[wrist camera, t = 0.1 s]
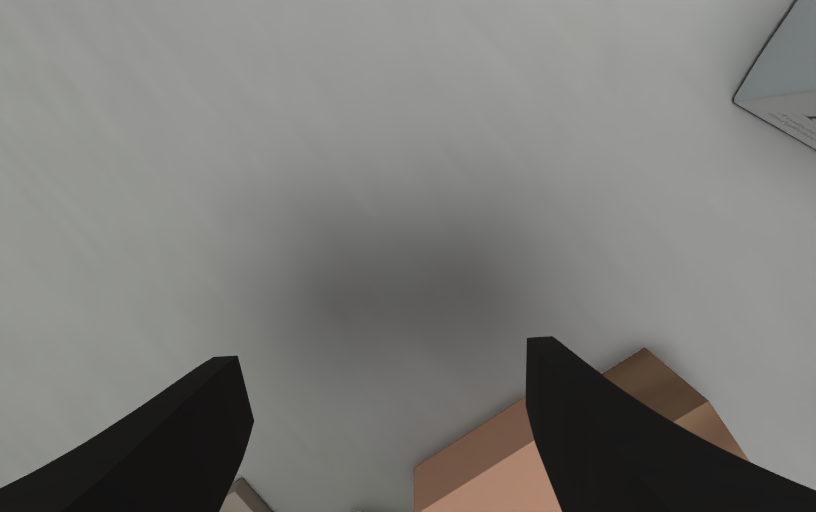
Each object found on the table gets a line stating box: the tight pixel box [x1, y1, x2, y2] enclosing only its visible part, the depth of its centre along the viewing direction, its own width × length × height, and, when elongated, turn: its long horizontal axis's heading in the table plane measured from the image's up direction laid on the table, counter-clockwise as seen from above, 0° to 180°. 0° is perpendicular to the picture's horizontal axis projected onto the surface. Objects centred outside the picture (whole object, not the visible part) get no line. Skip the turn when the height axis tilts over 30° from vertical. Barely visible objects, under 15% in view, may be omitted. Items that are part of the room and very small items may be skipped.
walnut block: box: [602, 348, 749, 461], centre depth 20 cm, size 4×4×5 cm
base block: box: [414, 397, 562, 512], centre depth 22 cm, size 7×7×4 cm
